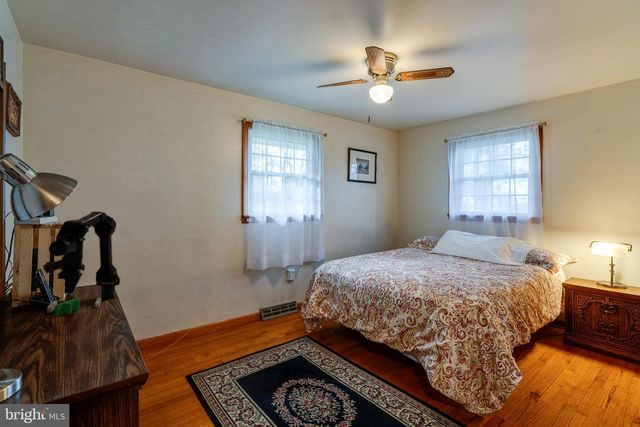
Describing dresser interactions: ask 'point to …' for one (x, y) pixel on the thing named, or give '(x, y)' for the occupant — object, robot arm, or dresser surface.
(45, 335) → the dresser surface
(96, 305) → the slot rails
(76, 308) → the pipe clamp
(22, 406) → the dresser surface
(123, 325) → the dresser surface
